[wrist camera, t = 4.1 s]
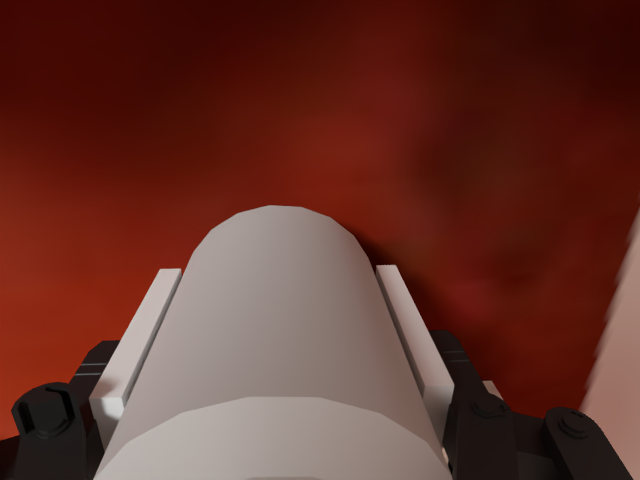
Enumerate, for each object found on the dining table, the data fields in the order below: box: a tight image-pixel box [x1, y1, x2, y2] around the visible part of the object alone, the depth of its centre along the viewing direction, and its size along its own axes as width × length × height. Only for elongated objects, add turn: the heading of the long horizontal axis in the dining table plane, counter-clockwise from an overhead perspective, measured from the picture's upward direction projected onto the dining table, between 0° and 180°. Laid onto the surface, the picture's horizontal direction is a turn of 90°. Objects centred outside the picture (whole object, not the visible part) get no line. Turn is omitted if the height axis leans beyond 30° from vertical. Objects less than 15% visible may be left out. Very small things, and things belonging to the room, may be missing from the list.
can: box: [93, 205, 452, 480], centre depth 13 cm, size 8×8×12 cm
